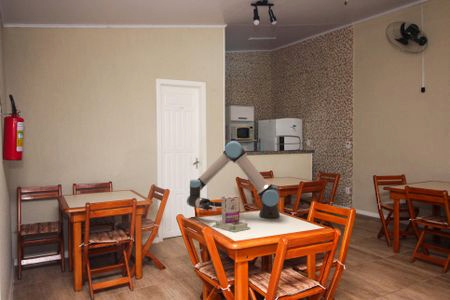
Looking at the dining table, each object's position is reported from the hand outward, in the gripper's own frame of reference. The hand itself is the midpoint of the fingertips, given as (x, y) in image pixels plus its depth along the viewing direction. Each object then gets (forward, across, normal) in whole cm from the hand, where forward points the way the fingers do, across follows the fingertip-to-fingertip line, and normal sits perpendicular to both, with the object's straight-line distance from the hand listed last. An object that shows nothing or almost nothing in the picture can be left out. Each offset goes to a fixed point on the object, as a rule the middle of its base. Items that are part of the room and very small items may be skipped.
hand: (223, 207), depth 229 cm
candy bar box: (+6, 0, -8) cm, 10 cm away
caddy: (+7, 0, -12) cm, 14 cm away
